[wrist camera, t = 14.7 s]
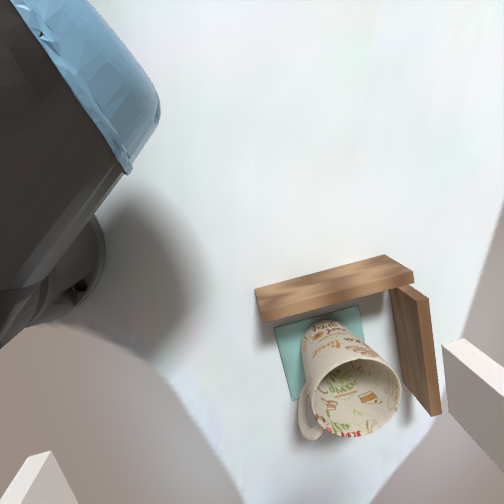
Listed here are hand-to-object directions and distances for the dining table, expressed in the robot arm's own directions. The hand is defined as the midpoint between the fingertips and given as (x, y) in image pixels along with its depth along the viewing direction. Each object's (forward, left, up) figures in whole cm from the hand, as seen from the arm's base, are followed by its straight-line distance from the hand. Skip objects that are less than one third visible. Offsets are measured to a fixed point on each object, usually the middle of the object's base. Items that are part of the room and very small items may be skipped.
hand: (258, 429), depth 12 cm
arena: (+9, -14, -27) cm, 32 cm away
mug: (+6, -16, -27) cm, 32 cm away
